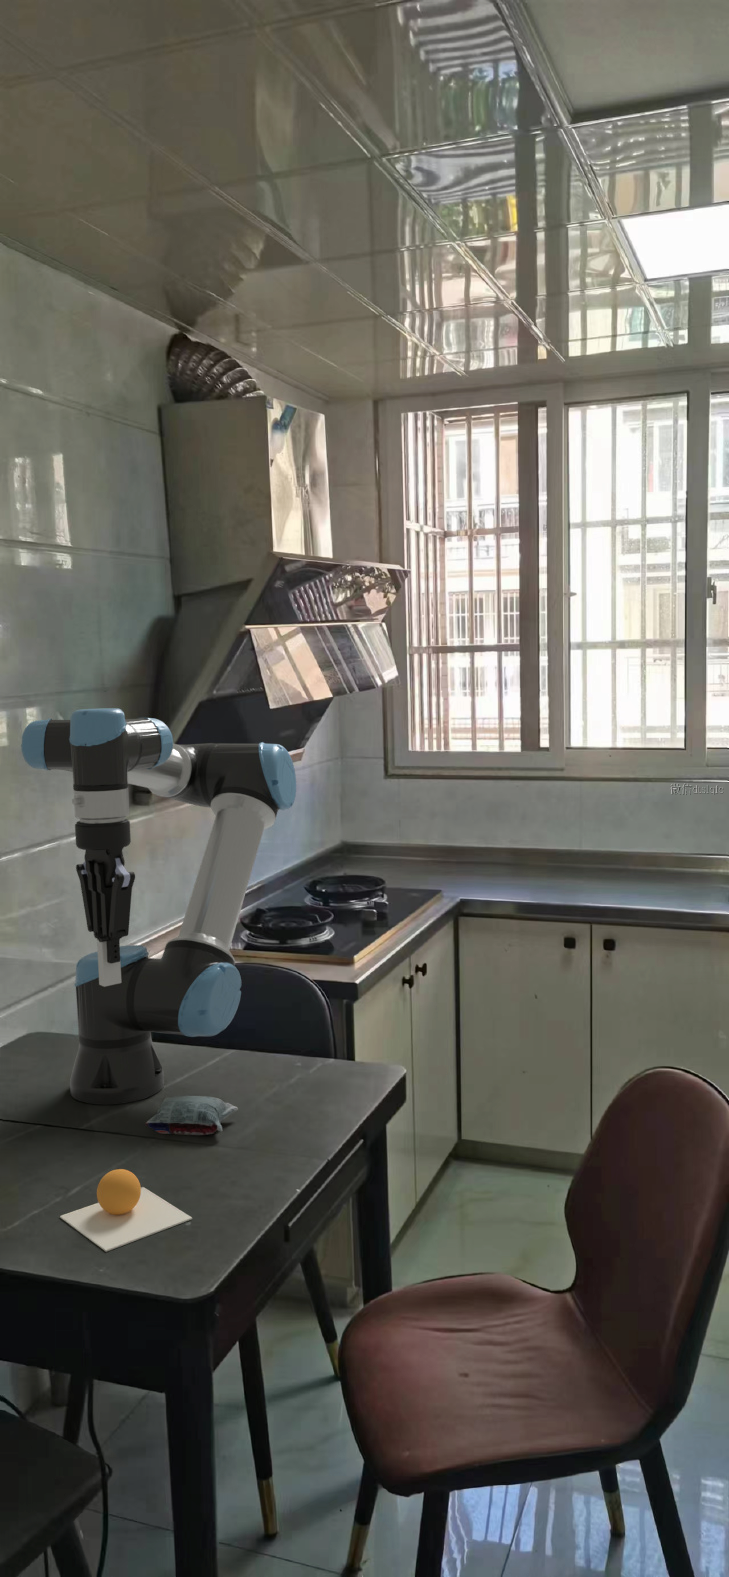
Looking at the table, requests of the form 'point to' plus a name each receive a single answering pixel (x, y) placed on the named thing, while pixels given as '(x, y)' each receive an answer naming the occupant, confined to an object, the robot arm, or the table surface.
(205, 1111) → the packaged food
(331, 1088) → the table surface
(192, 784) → the robot arm
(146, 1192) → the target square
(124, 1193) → the ball
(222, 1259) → the table surface
